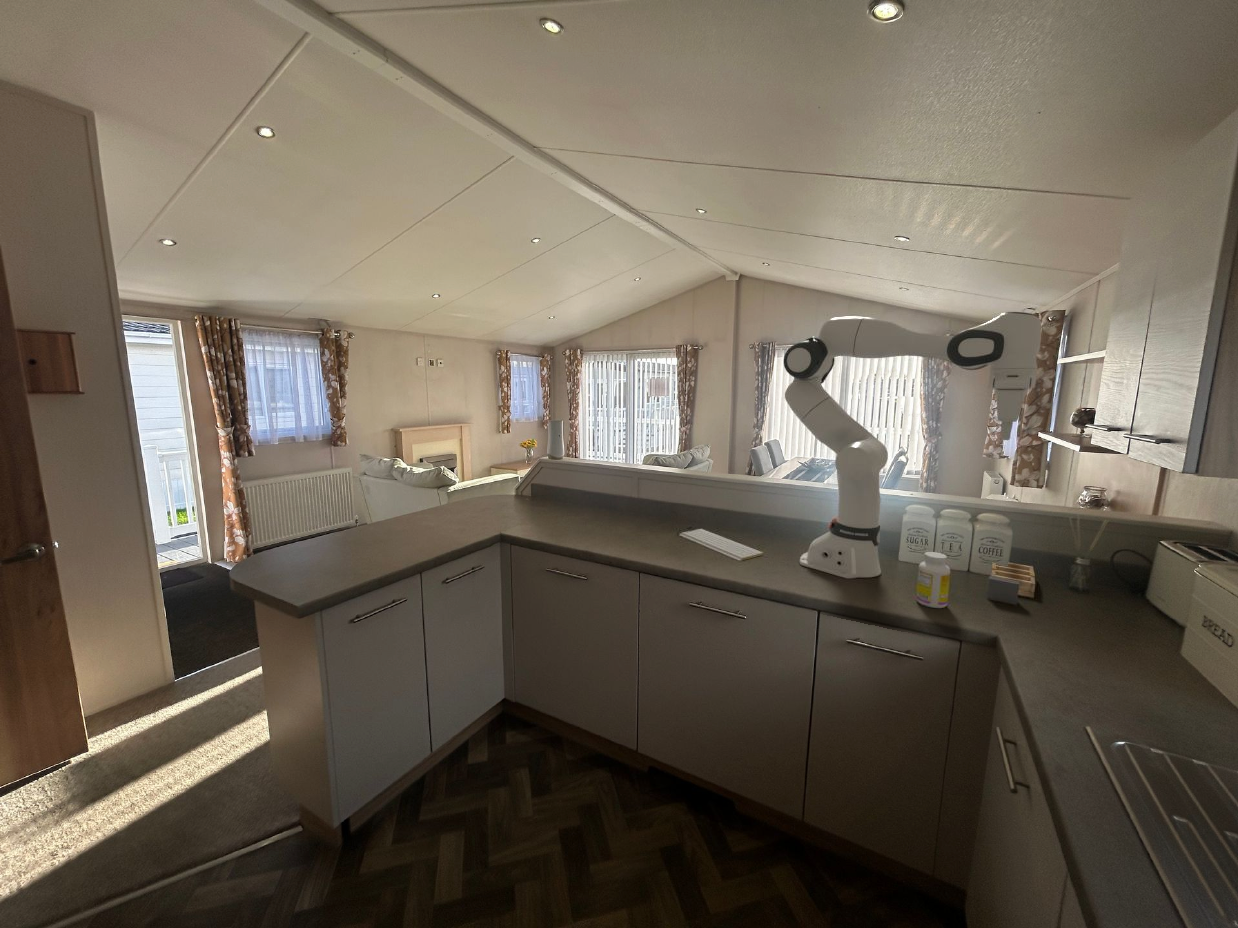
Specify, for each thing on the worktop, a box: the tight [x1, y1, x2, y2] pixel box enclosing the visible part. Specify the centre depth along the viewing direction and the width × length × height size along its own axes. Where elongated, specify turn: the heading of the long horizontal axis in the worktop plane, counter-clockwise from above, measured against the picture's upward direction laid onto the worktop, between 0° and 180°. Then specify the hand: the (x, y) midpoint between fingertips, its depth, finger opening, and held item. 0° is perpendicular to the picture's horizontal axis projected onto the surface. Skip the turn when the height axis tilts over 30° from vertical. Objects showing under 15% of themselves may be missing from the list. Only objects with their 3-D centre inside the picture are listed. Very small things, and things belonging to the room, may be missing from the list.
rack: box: [990, 562, 1036, 599], centre depth 135 cm, size 9×18×4 cm, turn 142°
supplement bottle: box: [915, 551, 951, 609], centre depth 122 cm, size 7×7×13 cm
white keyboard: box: [677, 526, 764, 562], centre depth 168 cm, size 31×3×12 cm
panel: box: [986, 575, 1019, 606], centre depth 124 cm, size 6×2×6 cm, turn 52°
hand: (1005, 438), depth 120 cm, fingers open, 8 cm apart
